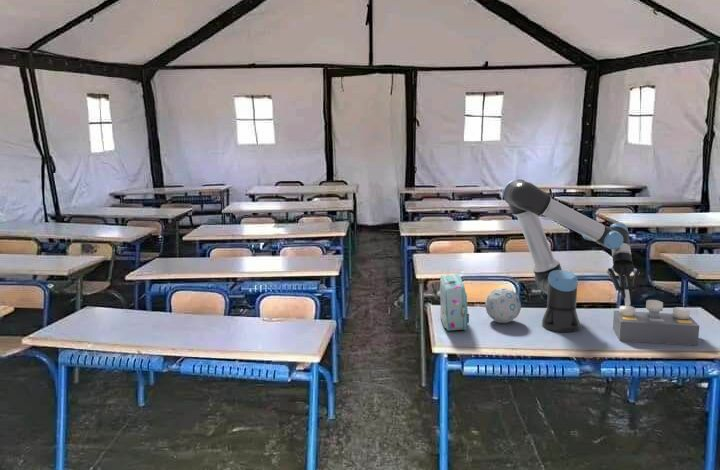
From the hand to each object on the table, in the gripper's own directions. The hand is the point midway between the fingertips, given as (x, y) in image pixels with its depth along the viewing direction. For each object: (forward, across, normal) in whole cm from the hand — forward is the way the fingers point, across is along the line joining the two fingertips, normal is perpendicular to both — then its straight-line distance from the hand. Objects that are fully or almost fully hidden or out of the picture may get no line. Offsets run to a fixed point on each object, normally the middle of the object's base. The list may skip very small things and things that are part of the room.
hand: (627, 305), depth 233 cm
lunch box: (+9, +70, -8) cm, 71 cm away
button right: (+6, -20, -6) cm, 22 cm away
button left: (+7, 0, -6) cm, 9 cm away
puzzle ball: (+4, +49, -13) cm, 51 cm away
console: (+10, -10, -7) cm, 16 cm away
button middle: (+4, -10, -4) cm, 12 cm away
